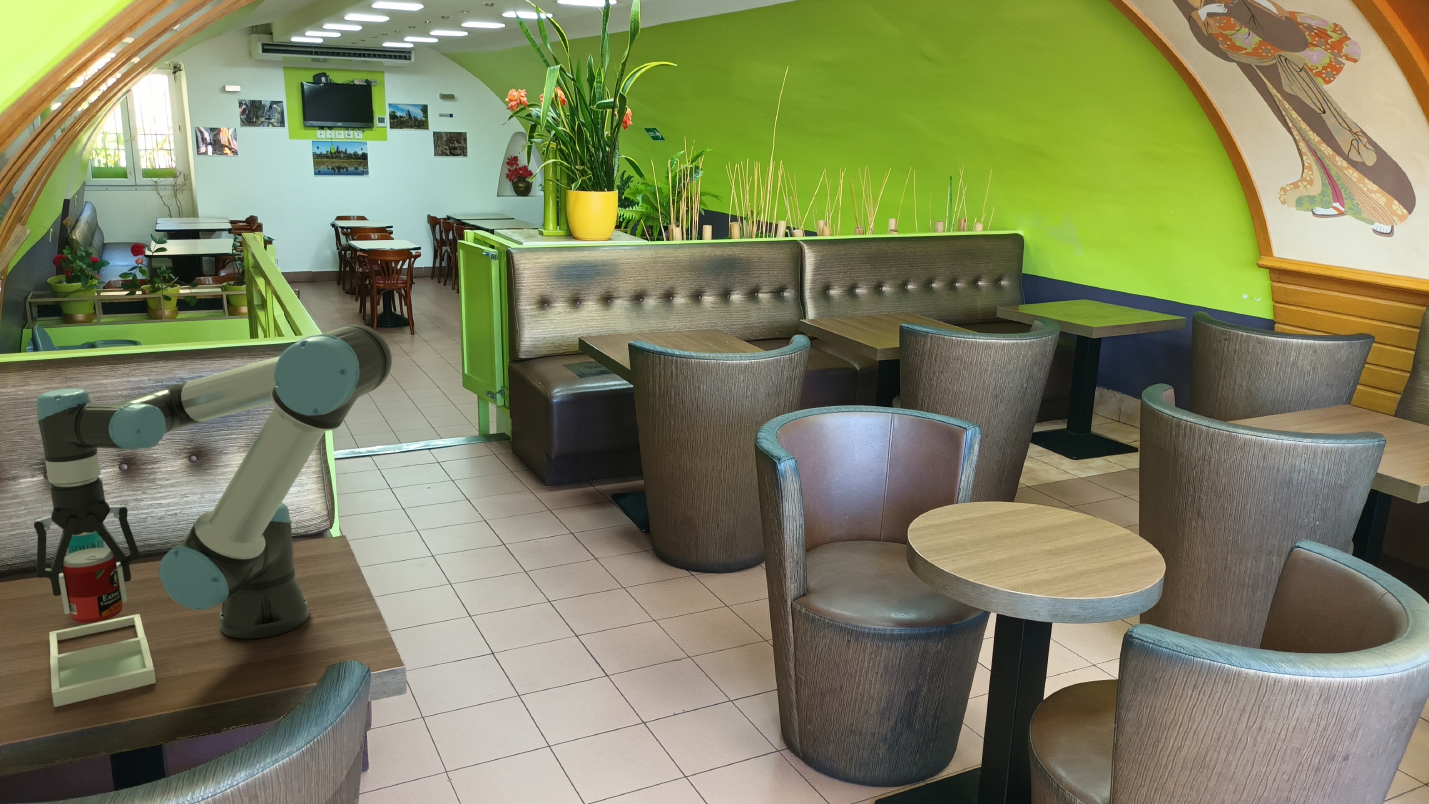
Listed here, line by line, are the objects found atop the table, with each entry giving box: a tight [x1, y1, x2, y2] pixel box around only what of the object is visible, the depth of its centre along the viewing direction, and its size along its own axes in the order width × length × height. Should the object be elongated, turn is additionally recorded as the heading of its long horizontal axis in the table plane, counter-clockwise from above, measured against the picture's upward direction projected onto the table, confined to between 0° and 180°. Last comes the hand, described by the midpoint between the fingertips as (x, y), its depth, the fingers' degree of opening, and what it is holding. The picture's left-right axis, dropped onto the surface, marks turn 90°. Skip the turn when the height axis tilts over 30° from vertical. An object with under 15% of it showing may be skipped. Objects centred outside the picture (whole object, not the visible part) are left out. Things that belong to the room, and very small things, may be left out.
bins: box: [49, 613, 157, 708], centre depth 170 cm, size 27×14×2 cm, turn 34°
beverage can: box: [67, 531, 105, 554], centre depth 191 cm, size 6×6×15 cm
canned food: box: [61, 547, 123, 624], centre depth 173 cm, size 8×8×11 cm
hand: (96, 604), depth 173 cm, fingers closed on canned food, 8 cm apart
